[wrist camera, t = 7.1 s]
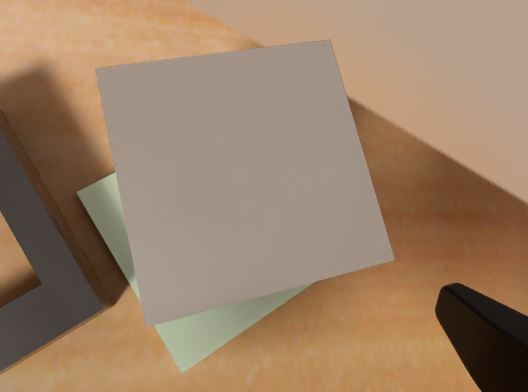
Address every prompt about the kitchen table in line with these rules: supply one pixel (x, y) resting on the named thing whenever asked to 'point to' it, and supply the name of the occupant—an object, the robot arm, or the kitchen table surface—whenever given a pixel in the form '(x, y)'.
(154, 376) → the kitchen table surface
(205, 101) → the grey tall rectangular block
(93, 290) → the dark grey flat frame
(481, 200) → the kitchen table surface
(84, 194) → the green mat
